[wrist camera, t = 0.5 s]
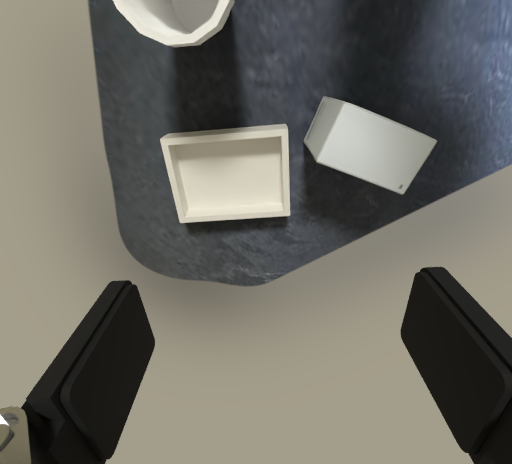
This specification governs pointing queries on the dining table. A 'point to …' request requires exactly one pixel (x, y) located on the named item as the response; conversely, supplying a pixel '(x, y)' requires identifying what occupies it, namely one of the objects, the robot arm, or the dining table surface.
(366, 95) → the dining table surface
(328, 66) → the dining table surface
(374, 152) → the skincare box
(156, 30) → the foam cup
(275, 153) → the trough
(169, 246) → the dining table surface
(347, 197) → the dining table surface
